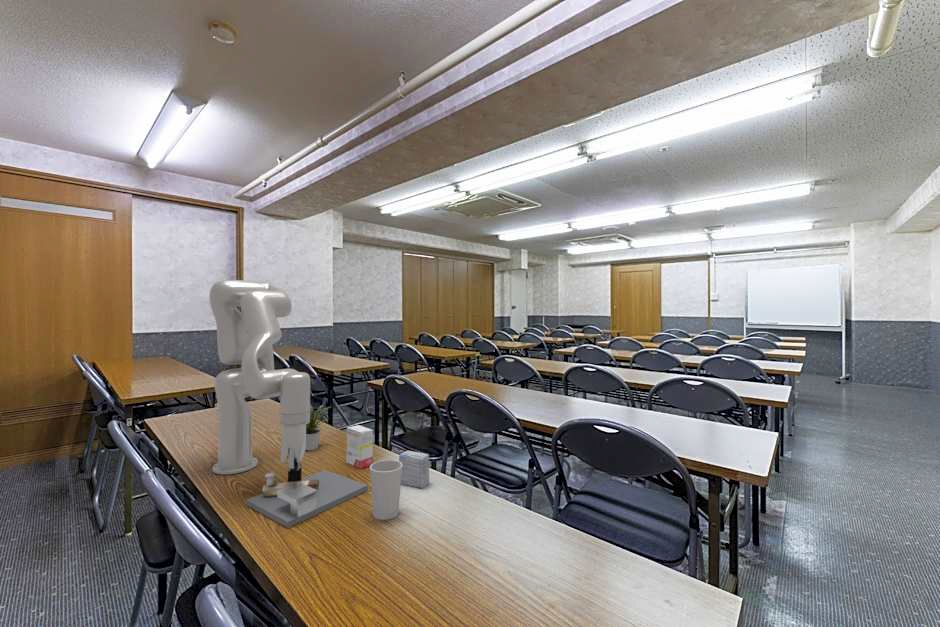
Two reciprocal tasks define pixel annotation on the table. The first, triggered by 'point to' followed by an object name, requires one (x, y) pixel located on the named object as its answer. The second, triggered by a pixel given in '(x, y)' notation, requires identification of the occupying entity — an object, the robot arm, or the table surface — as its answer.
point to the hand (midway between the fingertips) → (294, 483)
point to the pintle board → (329, 495)
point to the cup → (385, 488)
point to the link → (278, 486)
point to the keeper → (299, 498)
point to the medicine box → (414, 468)
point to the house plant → (313, 429)
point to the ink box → (359, 446)
